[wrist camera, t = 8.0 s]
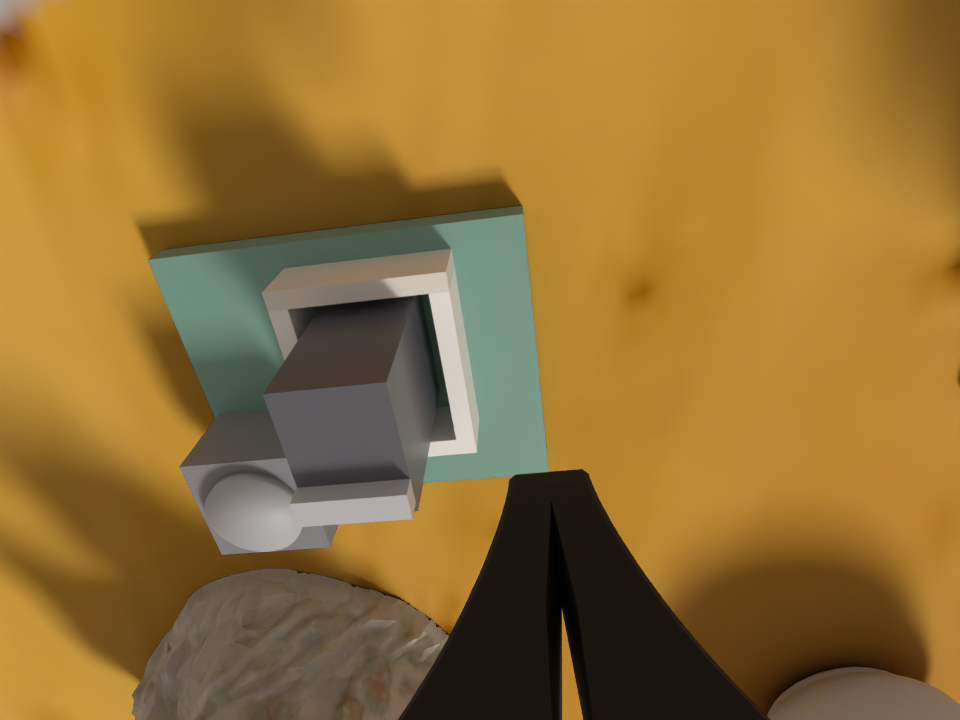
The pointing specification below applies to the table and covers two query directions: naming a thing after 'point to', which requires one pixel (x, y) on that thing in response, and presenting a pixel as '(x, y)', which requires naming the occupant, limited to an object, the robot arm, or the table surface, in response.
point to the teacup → (863, 698)
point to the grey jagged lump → (288, 652)
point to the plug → (357, 412)
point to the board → (344, 279)
